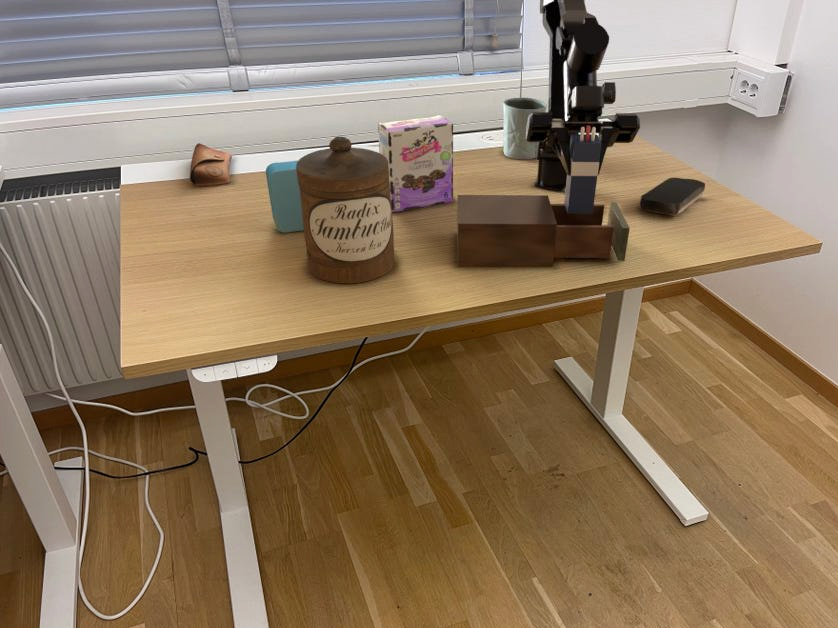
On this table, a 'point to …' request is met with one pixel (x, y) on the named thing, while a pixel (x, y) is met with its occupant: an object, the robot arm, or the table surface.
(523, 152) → the green ceramic pot
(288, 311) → the table surface
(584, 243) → the drawer
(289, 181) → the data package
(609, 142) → the robot arm
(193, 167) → the sunglasses case
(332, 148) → the wooden container
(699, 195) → the black sponge
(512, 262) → the cabinet
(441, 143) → the candy box
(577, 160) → the straw box
